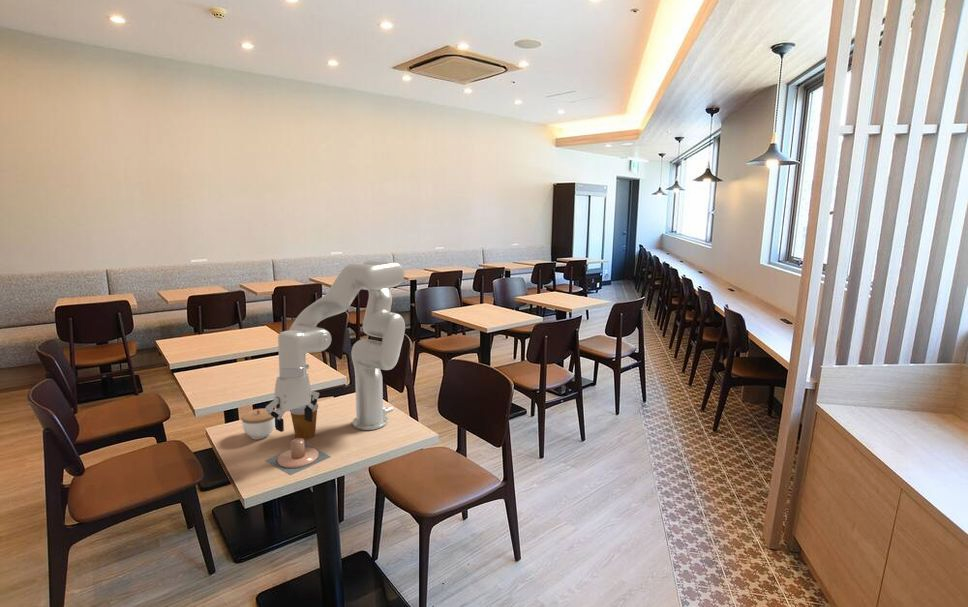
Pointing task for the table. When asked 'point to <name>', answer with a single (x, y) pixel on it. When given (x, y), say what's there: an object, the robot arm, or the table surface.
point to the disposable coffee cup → (303, 423)
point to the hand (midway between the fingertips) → (294, 425)
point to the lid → (298, 455)
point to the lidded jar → (258, 423)
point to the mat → (294, 470)
